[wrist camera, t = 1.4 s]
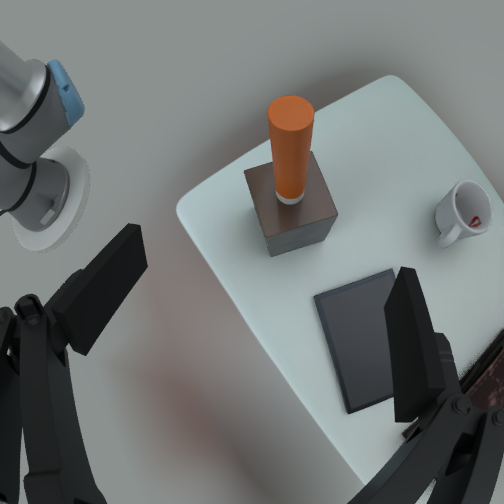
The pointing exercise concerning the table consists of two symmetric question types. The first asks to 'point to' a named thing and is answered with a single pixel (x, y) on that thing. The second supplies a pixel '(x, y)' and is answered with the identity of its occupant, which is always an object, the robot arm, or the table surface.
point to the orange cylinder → (290, 145)
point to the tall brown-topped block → (291, 209)
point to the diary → (483, 381)
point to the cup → (463, 212)
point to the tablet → (359, 339)
